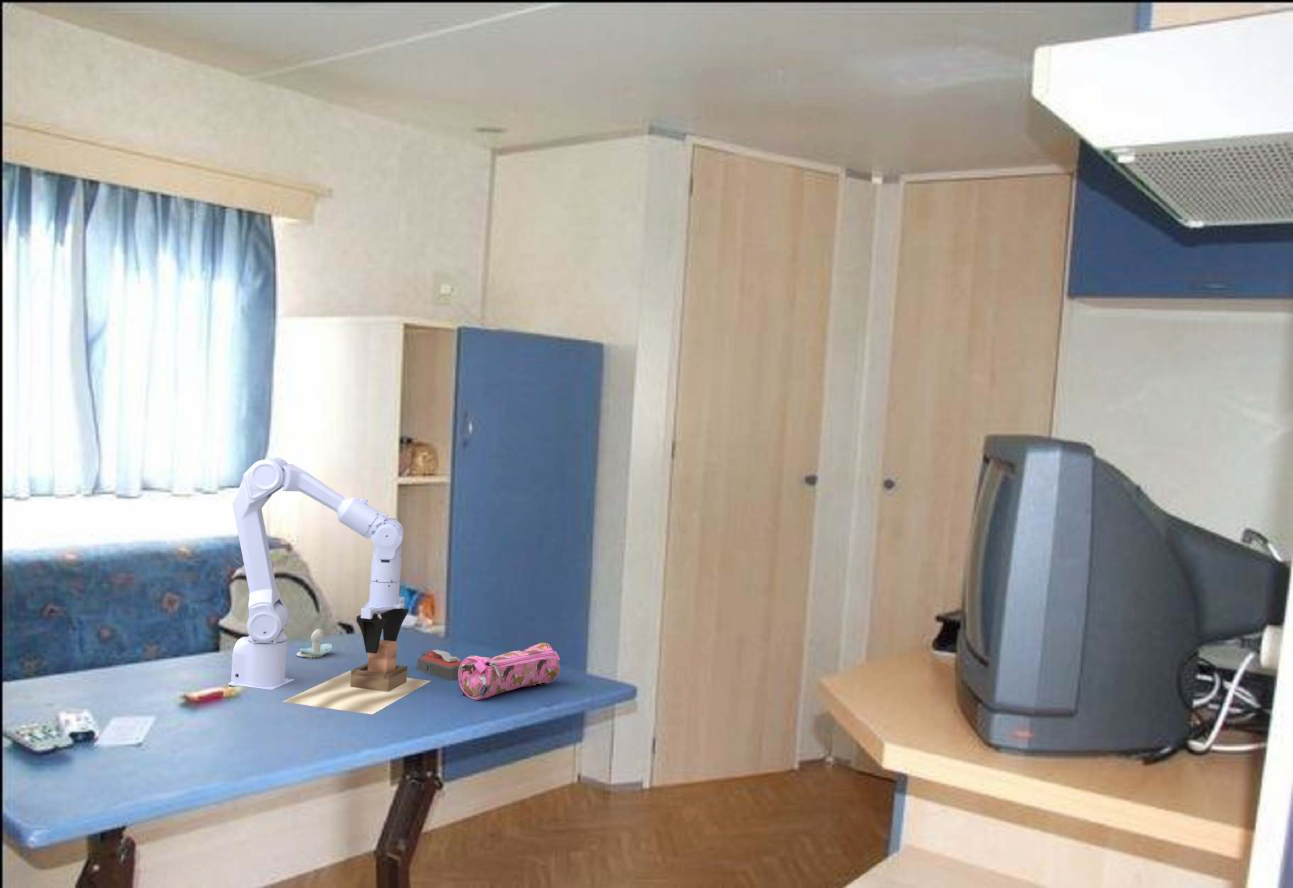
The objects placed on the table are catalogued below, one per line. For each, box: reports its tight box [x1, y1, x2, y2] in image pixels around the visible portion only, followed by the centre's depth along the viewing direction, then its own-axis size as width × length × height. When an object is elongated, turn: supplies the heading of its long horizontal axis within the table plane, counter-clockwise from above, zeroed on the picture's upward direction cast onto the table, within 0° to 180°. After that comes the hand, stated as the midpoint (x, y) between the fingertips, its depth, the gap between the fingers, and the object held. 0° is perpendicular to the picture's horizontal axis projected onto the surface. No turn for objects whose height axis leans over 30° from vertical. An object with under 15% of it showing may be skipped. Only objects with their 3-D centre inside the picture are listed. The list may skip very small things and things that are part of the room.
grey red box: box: [416, 649, 463, 681], centre depth 219 cm, size 9×4×20 cm
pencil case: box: [457, 642, 561, 701], centre depth 206 cm, size 21×9×9 cm, turn 140°
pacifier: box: [296, 628, 333, 659], centre depth 223 cm, size 7×6×6 cm
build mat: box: [282, 662, 432, 715], centre depth 197 cm, size 18×25×4 cm
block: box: [367, 639, 398, 674], centre depth 202 cm, size 4×4×6 cm
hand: (380, 648), depth 202 cm, fingers open, 7 cm apart
